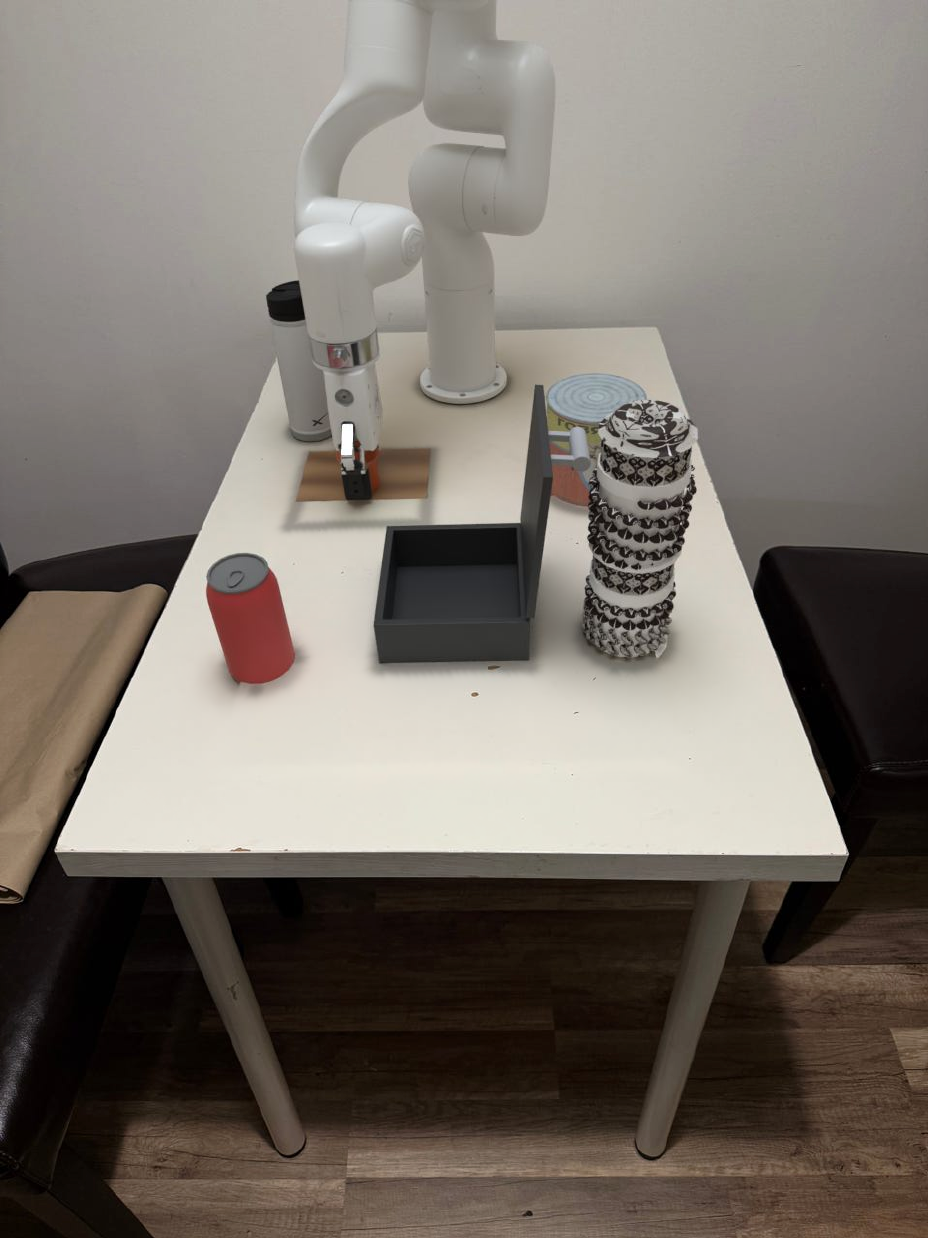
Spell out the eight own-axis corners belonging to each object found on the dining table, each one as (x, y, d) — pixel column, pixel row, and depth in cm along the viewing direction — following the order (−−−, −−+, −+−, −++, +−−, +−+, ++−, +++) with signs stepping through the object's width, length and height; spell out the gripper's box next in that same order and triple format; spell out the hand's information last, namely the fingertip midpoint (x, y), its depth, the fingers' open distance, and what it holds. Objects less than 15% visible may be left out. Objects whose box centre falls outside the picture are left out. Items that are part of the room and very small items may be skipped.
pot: (343, 473, 112) (339, 442, 109) (384, 472, 112) (381, 440, 109) (339, 497, 109) (333, 465, 106) (381, 496, 108) (377, 464, 105)
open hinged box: (379, 668, 87) (373, 625, 83) (391, 568, 99) (386, 525, 95) (529, 666, 87) (529, 622, 83) (523, 565, 98) (524, 522, 94)
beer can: (219, 686, 86) (189, 592, 78) (241, 639, 91) (214, 546, 83) (285, 691, 85) (261, 597, 77) (303, 644, 90) (282, 550, 82)
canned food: (558, 518, 104) (561, 427, 96) (534, 467, 112) (535, 380, 104) (650, 504, 106) (661, 413, 98) (619, 454, 114) (627, 367, 106)
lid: (543, 476, 72) (600, 479, 72) (534, 384, 84) (583, 386, 84) (525, 618, 82) (575, 620, 82) (520, 518, 94) (563, 520, 94)
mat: (309, 454, 117) (308, 451, 117) (430, 450, 116) (430, 447, 116) (289, 526, 105) (289, 523, 105) (425, 523, 105) (424, 520, 104)
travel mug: (331, 444, 119) (308, 296, 105) (284, 440, 120) (255, 294, 106) (345, 420, 123) (324, 275, 110) (300, 417, 124) (274, 273, 111)
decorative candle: (680, 618, 91) (717, 395, 74) (659, 680, 85) (695, 452, 68) (593, 598, 94) (610, 379, 77) (567, 656, 87) (579, 432, 70)
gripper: (371, 381, 92) (387, 517, 103) (384, 310, 105) (398, 438, 116) (298, 383, 92) (323, 519, 104) (321, 312, 105) (341, 440, 117)
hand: (363, 476), depth 110 cm, fingers open, 9 cm apart
